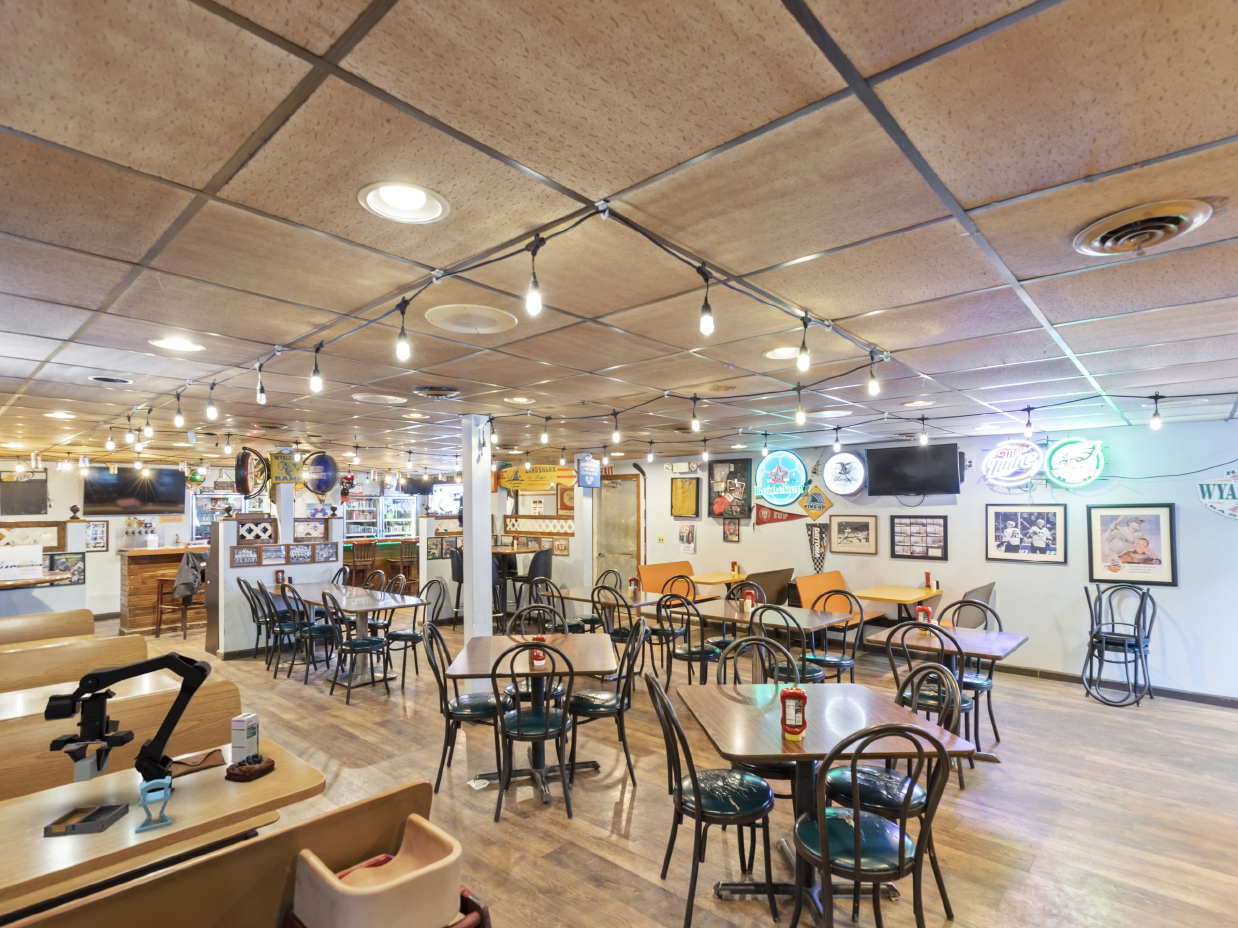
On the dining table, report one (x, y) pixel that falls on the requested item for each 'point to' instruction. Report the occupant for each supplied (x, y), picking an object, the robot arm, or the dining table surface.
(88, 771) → the grey rectangular block
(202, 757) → the sunglasses case
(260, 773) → the pastry
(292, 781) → the dining table surface
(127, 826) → the dining table surface
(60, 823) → the dark grey flat tray
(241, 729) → the syrup box
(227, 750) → the dining table surface
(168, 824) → the chair
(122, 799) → the dining table surface
